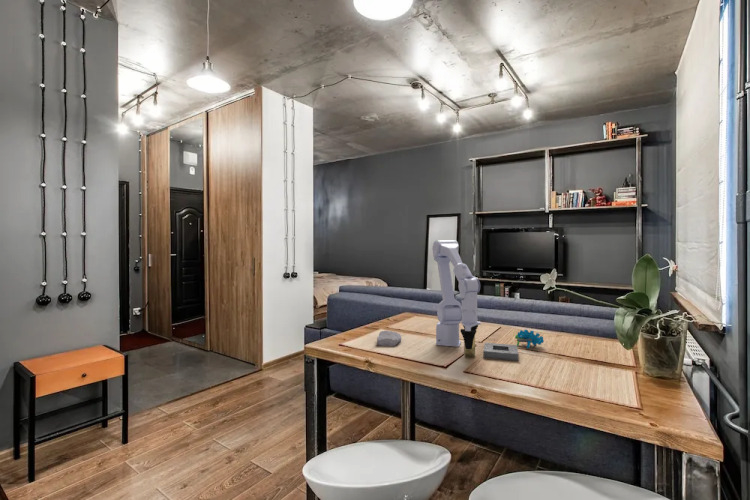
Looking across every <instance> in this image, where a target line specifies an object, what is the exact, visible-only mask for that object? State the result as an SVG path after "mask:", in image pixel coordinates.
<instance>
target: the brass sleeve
mask: <svg viewBox="0 0 750 500" xmlns="http://www.w3.org/2000/svg"><path fill="white" fill-rule="evenodd" d="M463 350H464V351H463V356H464V357H465V358H469V359H471V358H476V336H475V337H474V339H473V346H472V349H466V347H465V343H464V342H463Z"/></svg>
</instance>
